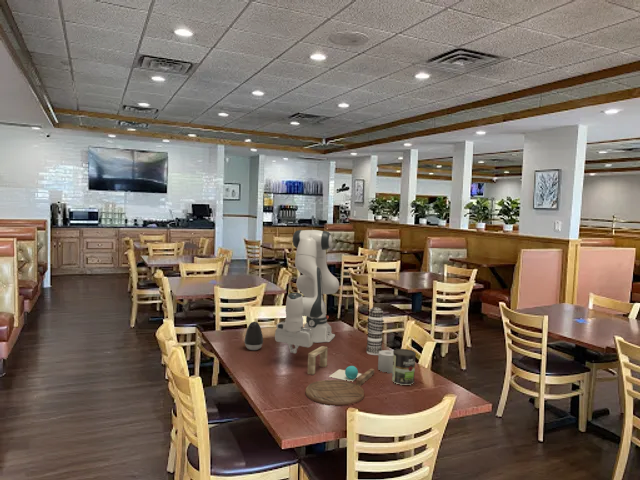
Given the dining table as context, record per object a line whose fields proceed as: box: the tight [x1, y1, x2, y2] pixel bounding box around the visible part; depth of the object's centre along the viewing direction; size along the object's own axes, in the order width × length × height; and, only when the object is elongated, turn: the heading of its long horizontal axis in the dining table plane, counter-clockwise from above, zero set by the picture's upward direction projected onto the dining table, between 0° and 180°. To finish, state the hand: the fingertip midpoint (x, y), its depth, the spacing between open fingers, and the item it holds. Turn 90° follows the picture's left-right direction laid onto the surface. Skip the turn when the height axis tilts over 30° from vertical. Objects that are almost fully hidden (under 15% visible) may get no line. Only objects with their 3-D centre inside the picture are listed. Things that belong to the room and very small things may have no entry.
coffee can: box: [391, 348, 417, 386], centre depth 222 cm, size 10×10×14 cm
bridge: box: [306, 345, 329, 376], centre depth 234 cm, size 3×15×10 cm, turn 153°
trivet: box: [305, 379, 365, 407], centre depth 205 cm, size 25×25×2 cm
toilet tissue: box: [377, 349, 394, 374], centre depth 237 cm, size 9×13×9 cm
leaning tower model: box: [366, 306, 385, 356], centre depth 265 cm, size 9×9×25 cm
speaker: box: [243, 321, 264, 351], centre depth 263 cm, size 10×10×15 cm
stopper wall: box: [355, 368, 375, 387], centre depth 223 cm, size 18×2×2 cm, turn 154°
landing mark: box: [328, 368, 363, 383], centre depth 228 cm, size 12×12×1 cm
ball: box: [344, 365, 359, 379], centre depth 223 cm, size 6×6×6 cm
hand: (293, 352), depth 241 cm, fingers closed
